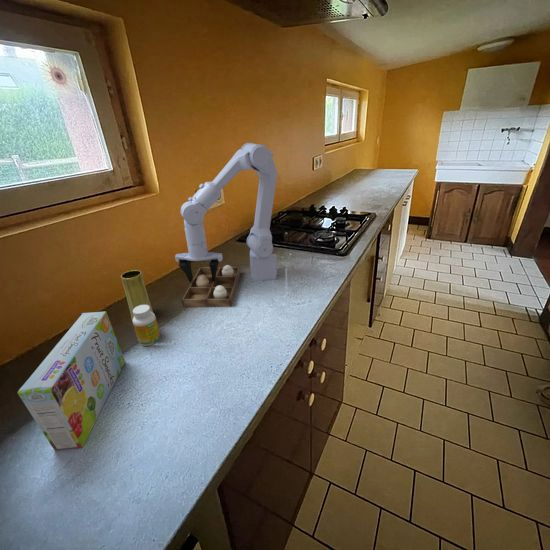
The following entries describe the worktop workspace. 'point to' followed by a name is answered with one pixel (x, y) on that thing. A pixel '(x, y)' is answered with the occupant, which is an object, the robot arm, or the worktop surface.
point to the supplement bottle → (145, 325)
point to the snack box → (74, 381)
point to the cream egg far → (227, 271)
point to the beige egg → (202, 281)
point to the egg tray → (211, 289)
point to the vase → (135, 290)
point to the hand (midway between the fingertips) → (202, 280)
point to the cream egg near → (220, 292)
